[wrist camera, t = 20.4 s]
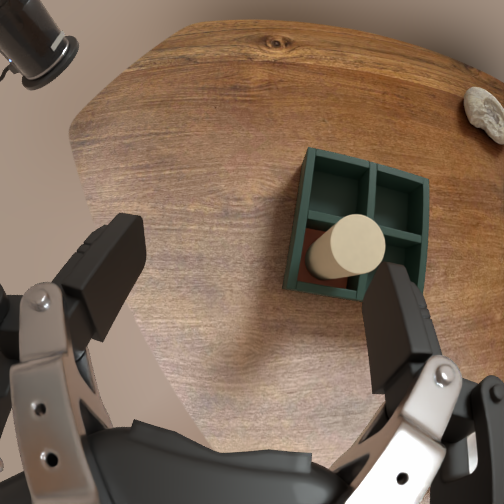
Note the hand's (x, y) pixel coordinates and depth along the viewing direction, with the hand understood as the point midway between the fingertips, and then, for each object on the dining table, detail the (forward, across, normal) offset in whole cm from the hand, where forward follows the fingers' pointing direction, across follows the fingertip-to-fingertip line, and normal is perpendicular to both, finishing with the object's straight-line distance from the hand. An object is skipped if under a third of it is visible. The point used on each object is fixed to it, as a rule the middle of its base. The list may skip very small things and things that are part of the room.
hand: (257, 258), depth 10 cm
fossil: (+36, -32, -7) cm, 48 cm away
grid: (+18, -10, +10) cm, 23 cm away
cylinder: (+15, -6, +11) cm, 20 cm away
